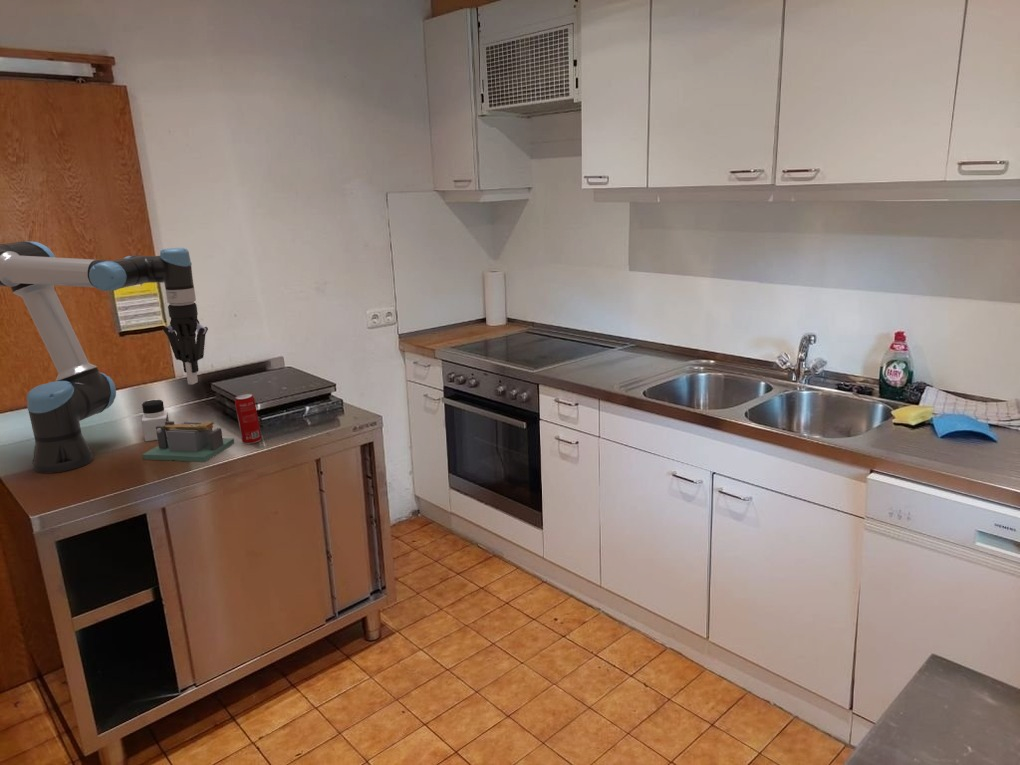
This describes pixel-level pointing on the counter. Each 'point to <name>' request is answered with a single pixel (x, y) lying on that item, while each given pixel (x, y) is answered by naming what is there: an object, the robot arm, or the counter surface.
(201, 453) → the board
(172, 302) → the robot arm
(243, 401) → the beverage can
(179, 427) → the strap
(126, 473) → the counter surface
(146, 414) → the medicine bottle
